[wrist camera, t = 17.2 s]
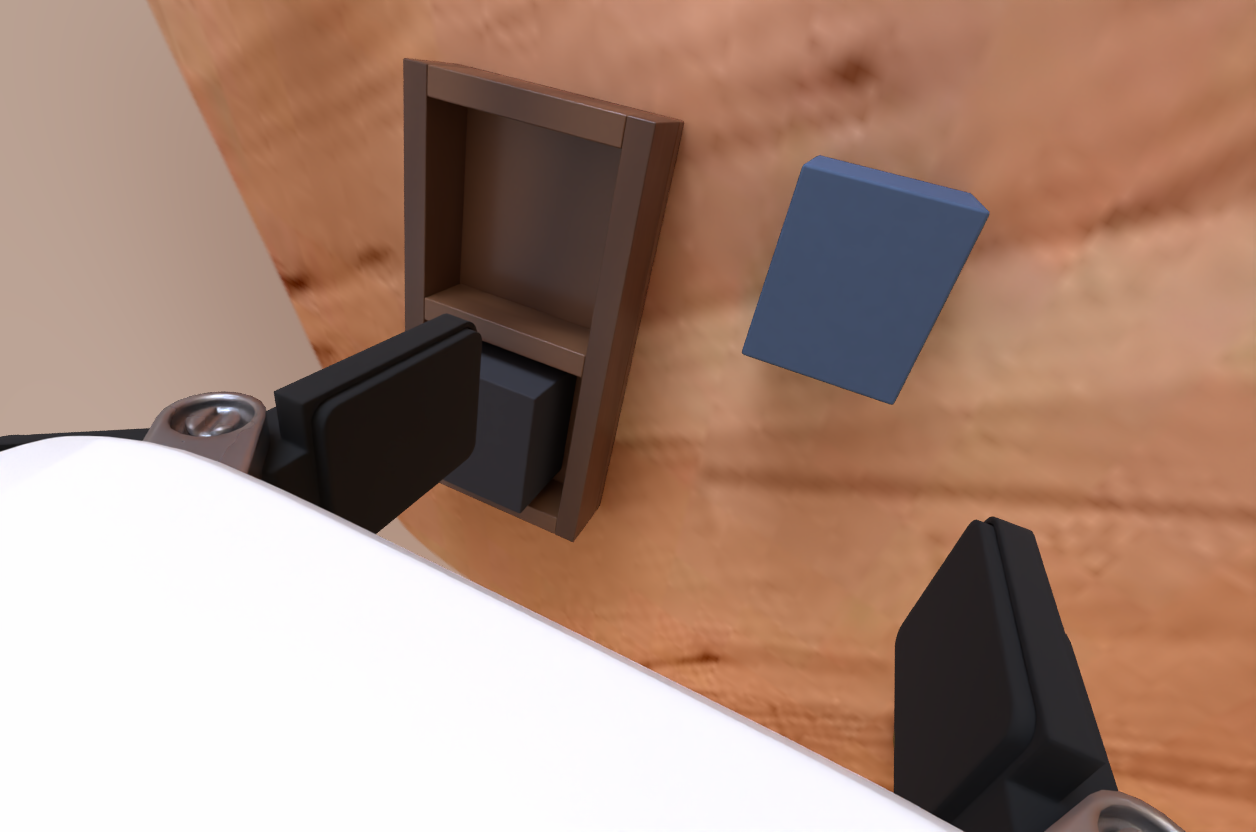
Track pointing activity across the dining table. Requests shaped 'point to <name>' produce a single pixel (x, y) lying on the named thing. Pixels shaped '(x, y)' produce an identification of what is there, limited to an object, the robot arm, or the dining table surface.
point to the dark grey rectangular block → (516, 429)
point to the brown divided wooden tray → (537, 241)
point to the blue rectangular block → (861, 275)
